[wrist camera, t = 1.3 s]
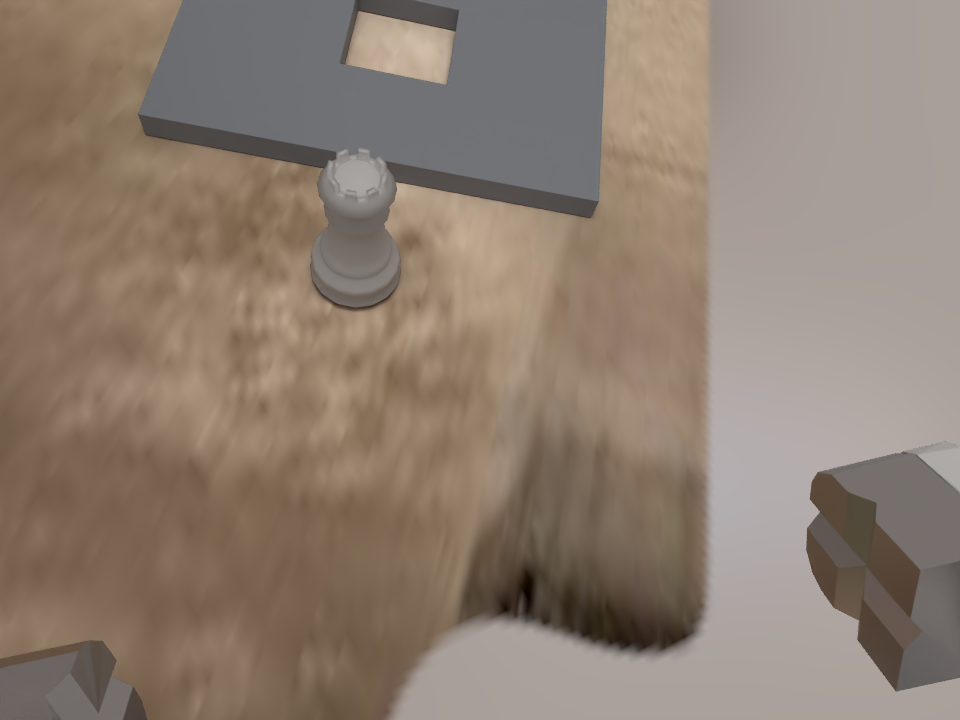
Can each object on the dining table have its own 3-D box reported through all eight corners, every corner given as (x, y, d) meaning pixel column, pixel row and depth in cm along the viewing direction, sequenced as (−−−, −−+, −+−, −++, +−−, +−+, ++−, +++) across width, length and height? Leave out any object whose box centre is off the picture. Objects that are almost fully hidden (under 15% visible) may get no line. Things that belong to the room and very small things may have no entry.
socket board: (145, 134, 38) (138, 114, 36) (230, -88, 45) (226, -112, 44) (590, 217, 40) (598, 201, 39) (600, -6, 48) (607, -26, 46)
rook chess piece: (381, 225, 38) (388, 117, 31) (413, 296, 36) (429, 201, 29) (298, 248, 36) (285, 141, 29) (328, 323, 35) (323, 230, 28)
